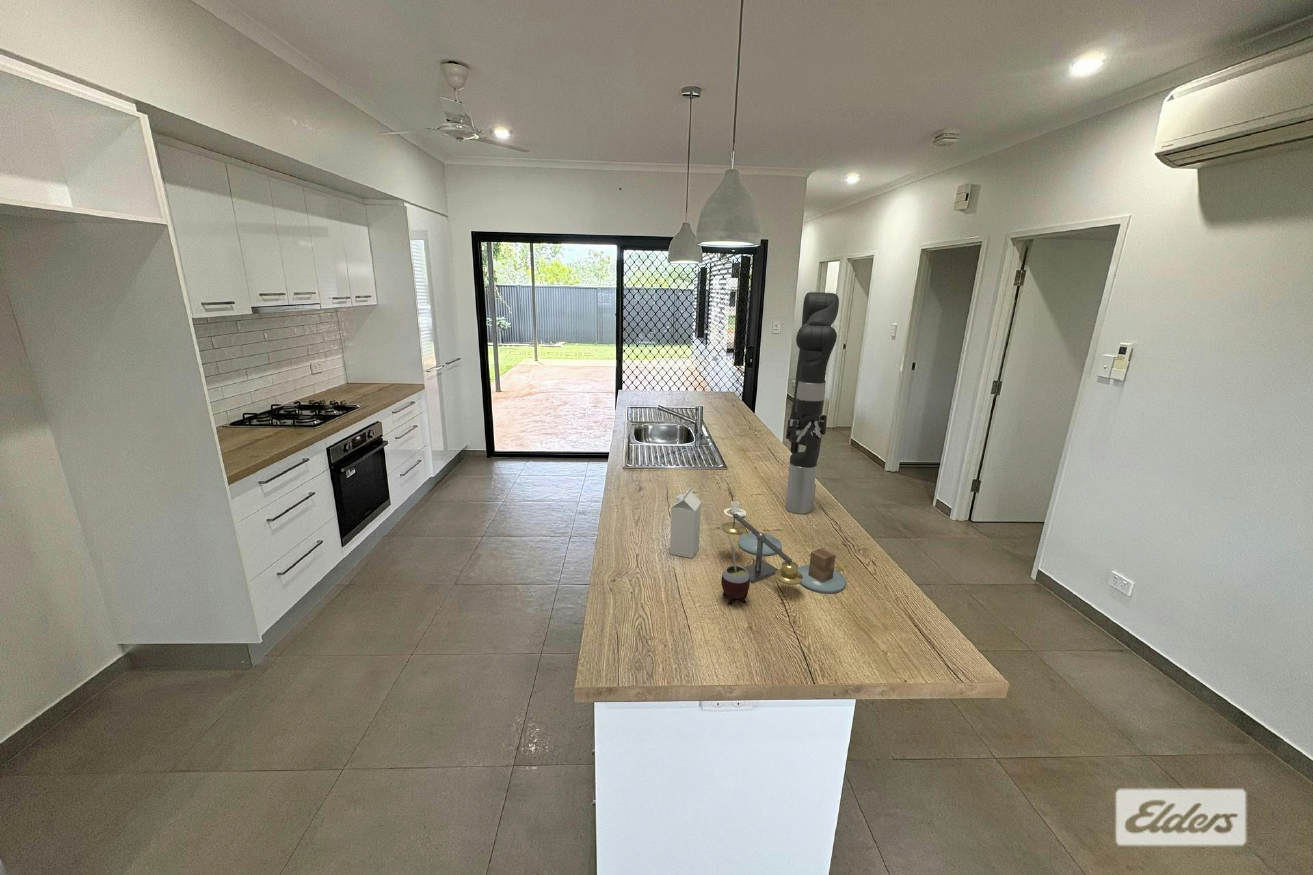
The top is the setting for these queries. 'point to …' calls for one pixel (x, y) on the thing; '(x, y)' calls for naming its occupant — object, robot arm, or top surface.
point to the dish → (826, 587)
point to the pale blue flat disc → (750, 544)
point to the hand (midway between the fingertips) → (804, 451)
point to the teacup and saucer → (735, 509)
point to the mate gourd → (735, 581)
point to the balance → (761, 568)
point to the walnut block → (821, 565)
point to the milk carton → (685, 525)
